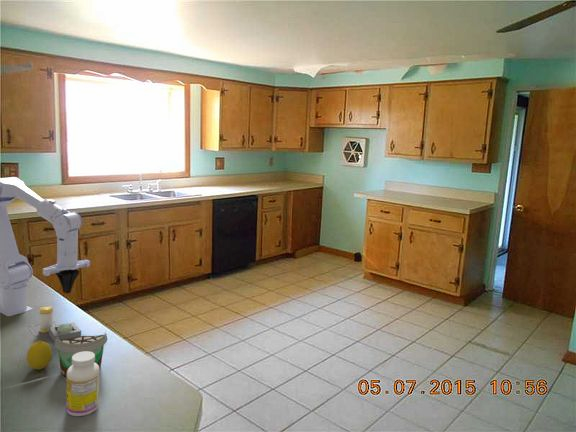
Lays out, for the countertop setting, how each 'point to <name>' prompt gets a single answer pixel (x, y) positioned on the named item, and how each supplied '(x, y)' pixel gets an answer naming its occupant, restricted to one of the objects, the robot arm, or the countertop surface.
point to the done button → (64, 328)
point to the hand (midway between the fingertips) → (66, 292)
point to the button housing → (66, 335)
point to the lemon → (39, 355)
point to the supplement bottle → (82, 384)
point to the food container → (79, 349)
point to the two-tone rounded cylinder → (46, 318)
